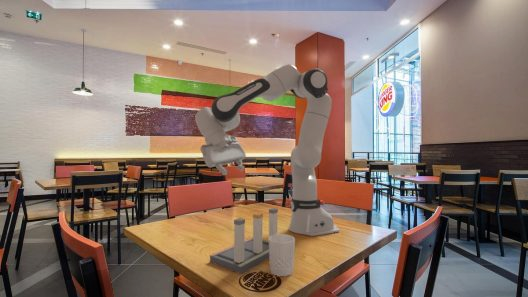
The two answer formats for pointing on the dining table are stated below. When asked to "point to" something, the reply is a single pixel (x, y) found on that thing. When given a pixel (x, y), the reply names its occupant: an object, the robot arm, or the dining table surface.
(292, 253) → the white cup
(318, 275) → the dining table surface
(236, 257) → the peg rod stand
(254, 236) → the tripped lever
